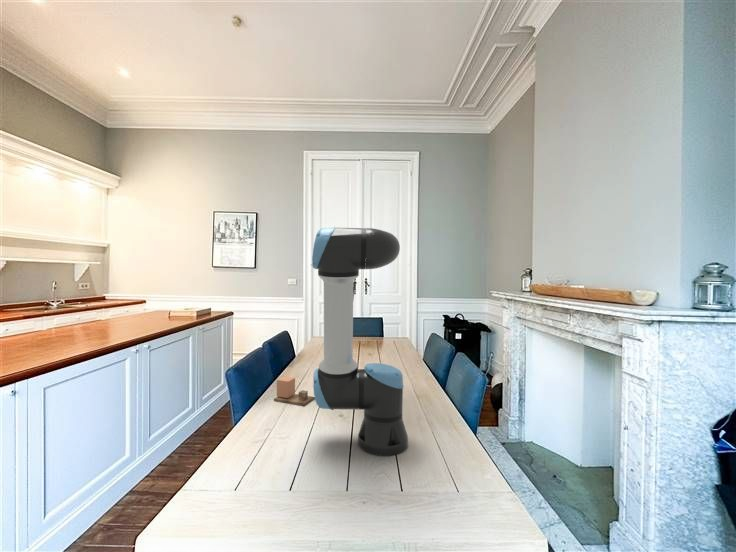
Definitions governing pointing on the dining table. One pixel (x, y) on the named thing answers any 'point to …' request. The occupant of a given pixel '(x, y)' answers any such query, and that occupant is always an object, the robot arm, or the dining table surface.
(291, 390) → the tan upright block
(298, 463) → the dining table surface
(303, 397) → the peg stand
